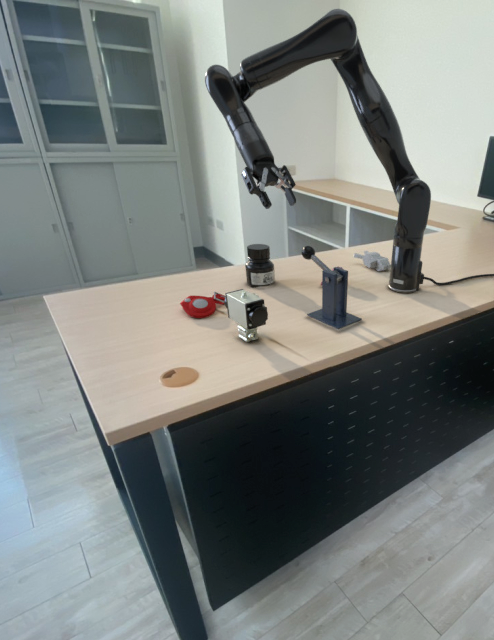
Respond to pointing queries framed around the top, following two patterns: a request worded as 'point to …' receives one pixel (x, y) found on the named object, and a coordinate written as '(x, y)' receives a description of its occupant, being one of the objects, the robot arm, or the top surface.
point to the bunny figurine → (374, 260)
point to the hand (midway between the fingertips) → (281, 205)
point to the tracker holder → (202, 305)
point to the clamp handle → (318, 261)
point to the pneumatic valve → (246, 312)
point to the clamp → (334, 301)
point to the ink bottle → (259, 266)
